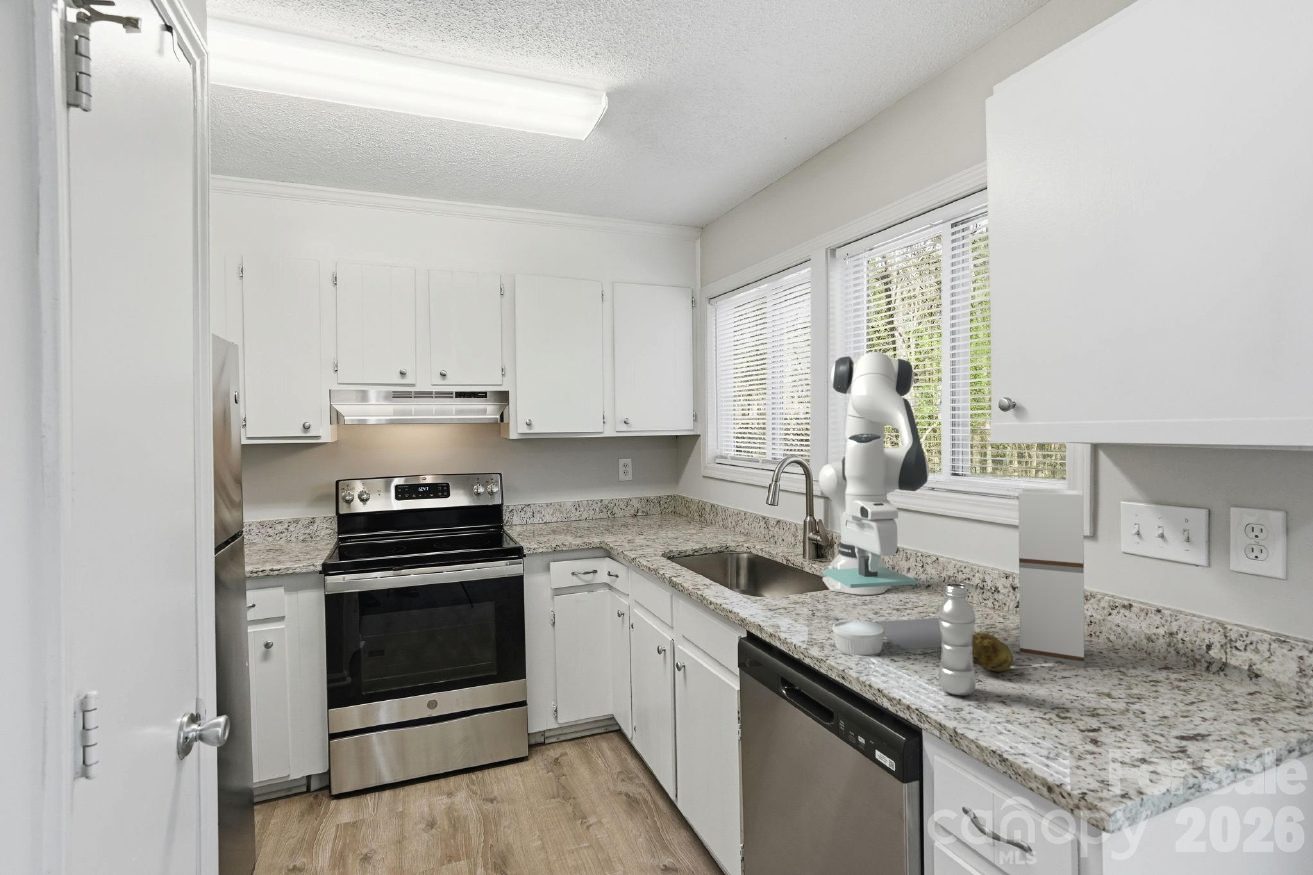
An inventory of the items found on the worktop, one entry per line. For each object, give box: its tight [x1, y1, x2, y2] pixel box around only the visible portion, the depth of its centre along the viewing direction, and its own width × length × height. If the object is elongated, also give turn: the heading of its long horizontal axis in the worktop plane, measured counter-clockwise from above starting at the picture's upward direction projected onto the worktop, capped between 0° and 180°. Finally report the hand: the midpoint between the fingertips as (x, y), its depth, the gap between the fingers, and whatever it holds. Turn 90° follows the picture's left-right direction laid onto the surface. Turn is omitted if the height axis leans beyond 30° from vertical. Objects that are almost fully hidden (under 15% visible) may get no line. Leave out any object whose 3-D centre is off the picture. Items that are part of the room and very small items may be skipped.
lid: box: [822, 556, 919, 588], centre depth 146 cm, size 15×15×5 cm
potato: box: [972, 632, 1014, 672], centre depth 133 cm, size 8×13×8 cm, turn 116°
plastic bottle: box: [937, 582, 977, 696], centre depth 122 cm, size 6×7×20 cm
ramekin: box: [832, 619, 885, 657], centre depth 146 cm, size 11×11×5 cm
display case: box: [1017, 487, 1086, 668], centre depth 141 cm, size 11×11×35 cm
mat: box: [871, 617, 942, 651], centre depth 155 cm, size 20×20×1 cm
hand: (867, 569), depth 146 cm, fingers closed on lid, 3 cm apart
